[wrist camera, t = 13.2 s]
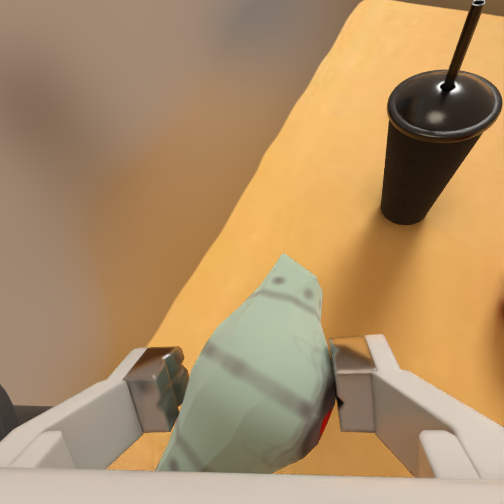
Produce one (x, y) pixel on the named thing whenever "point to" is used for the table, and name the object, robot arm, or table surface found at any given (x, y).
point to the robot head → (258, 383)
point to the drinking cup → (434, 130)
